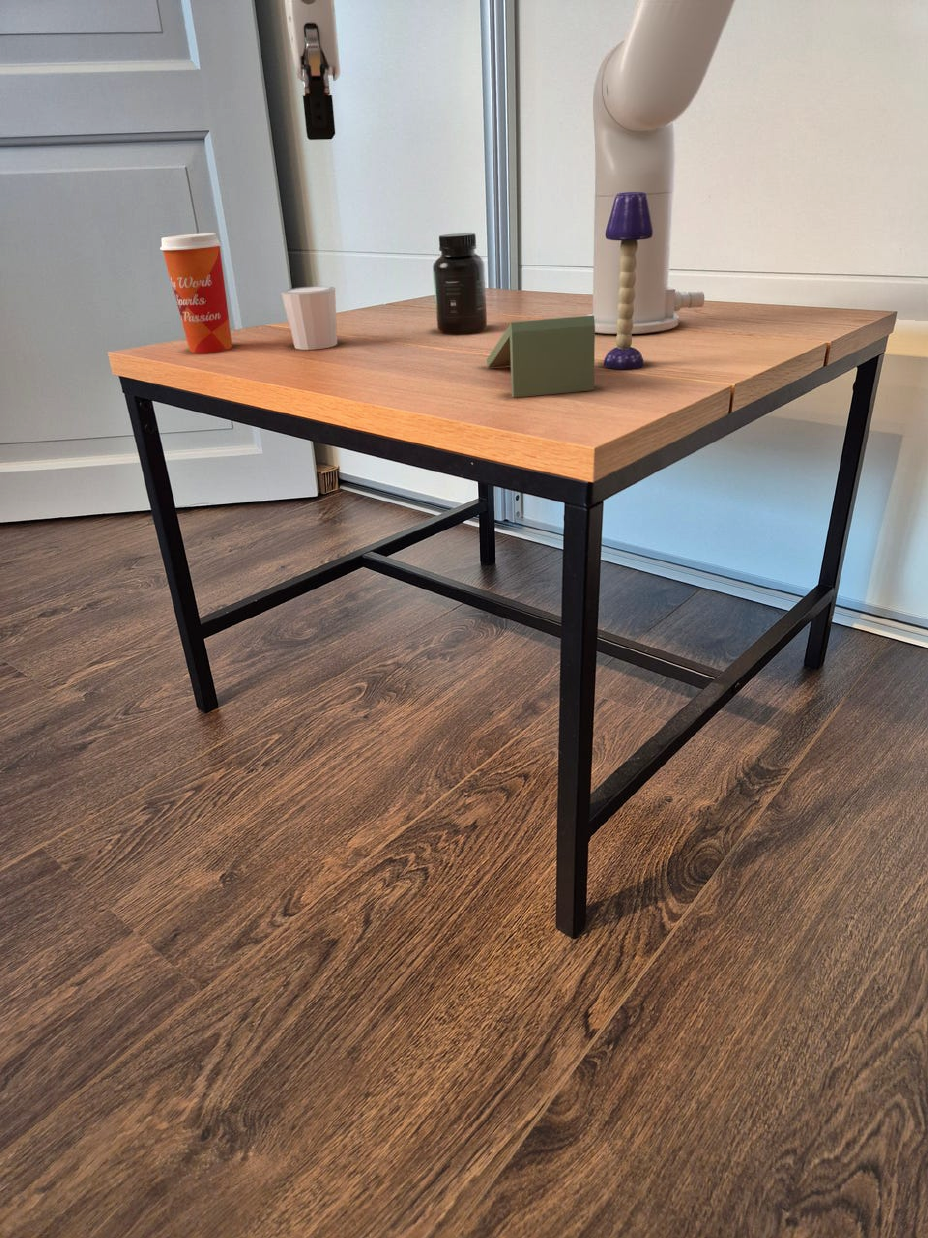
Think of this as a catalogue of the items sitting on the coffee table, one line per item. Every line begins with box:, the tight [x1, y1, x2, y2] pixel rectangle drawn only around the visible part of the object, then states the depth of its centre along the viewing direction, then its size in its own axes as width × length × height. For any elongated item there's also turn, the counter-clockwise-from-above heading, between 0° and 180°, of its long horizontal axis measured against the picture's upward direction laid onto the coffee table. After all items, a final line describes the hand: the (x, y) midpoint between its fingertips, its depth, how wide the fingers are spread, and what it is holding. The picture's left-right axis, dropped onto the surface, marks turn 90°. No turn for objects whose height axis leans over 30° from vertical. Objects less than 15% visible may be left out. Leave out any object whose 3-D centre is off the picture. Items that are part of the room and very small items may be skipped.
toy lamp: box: [603, 192, 653, 370], centre depth 86 cm, size 5×5×17 cm
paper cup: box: [159, 232, 233, 354], centre depth 109 cm, size 8×8×14 cm
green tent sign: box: [486, 315, 596, 399], centre depth 85 cm, size 14×8×7 cm, turn 9°
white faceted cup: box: [281, 285, 338, 351], centre depth 109 cm, size 7×7×7 cm
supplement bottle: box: [432, 232, 488, 335], centre depth 112 cm, size 7×7×12 cm
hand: (320, 137), depth 98 cm, fingers open, 9 cm apart
